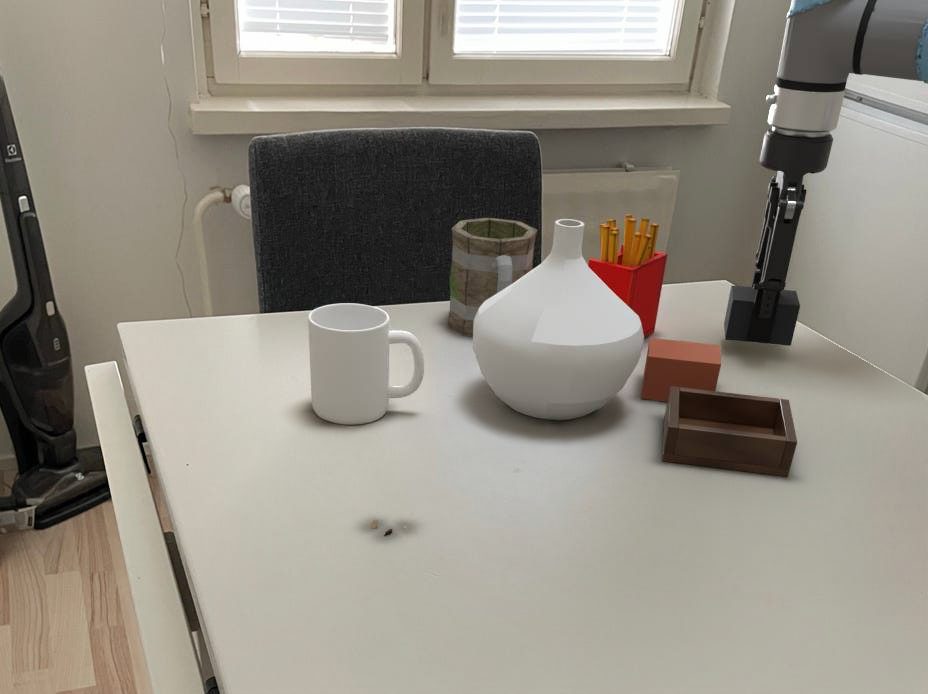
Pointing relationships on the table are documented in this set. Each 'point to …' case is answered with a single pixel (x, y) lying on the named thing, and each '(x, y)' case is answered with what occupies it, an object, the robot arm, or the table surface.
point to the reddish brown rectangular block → (679, 367)
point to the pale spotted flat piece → (374, 525)
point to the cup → (355, 362)
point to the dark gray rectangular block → (742, 312)
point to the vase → (557, 336)
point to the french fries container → (632, 268)
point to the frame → (729, 431)
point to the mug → (485, 264)
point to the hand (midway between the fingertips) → (756, 332)
